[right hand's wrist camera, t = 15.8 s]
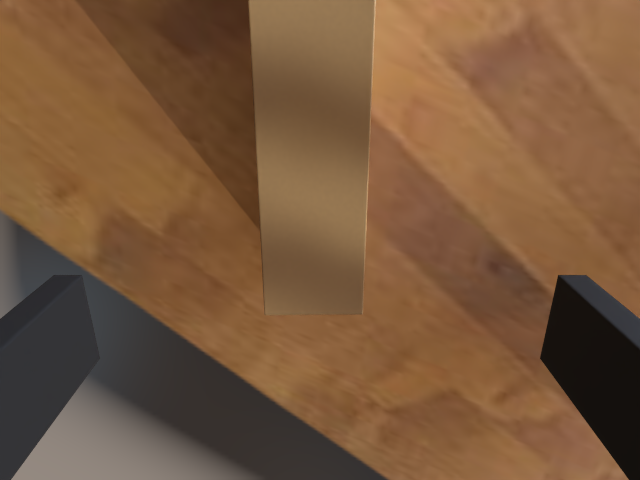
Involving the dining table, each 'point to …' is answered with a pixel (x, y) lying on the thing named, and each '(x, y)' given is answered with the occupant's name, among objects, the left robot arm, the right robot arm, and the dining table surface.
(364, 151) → the beam
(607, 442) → the right robot arm
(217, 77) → the dining table surface
